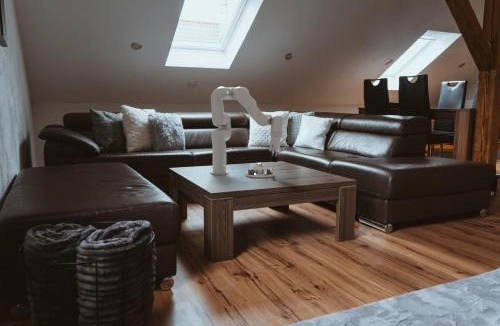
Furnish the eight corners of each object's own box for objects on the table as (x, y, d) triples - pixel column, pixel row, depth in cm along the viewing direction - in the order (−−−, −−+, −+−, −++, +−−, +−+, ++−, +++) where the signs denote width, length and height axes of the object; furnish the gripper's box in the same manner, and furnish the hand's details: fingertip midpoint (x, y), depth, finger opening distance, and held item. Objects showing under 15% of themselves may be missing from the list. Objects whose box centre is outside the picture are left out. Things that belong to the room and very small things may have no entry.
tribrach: (242, 173, 285) (242, 160, 284) (269, 172, 289) (269, 160, 288) (248, 178, 266) (248, 165, 264) (277, 177, 270) (277, 164, 268)
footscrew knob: (266, 173, 277) (266, 167, 276) (272, 173, 277) (272, 167, 277) (268, 176, 263) (268, 171, 263) (275, 176, 264) (275, 171, 263)
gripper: (273, 133, 273) (271, 159, 276) (267, 134, 259) (265, 163, 262) (284, 134, 271) (282, 160, 274) (278, 135, 257) (277, 164, 260)
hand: (274, 161), depth 268 cm, fingers closed
